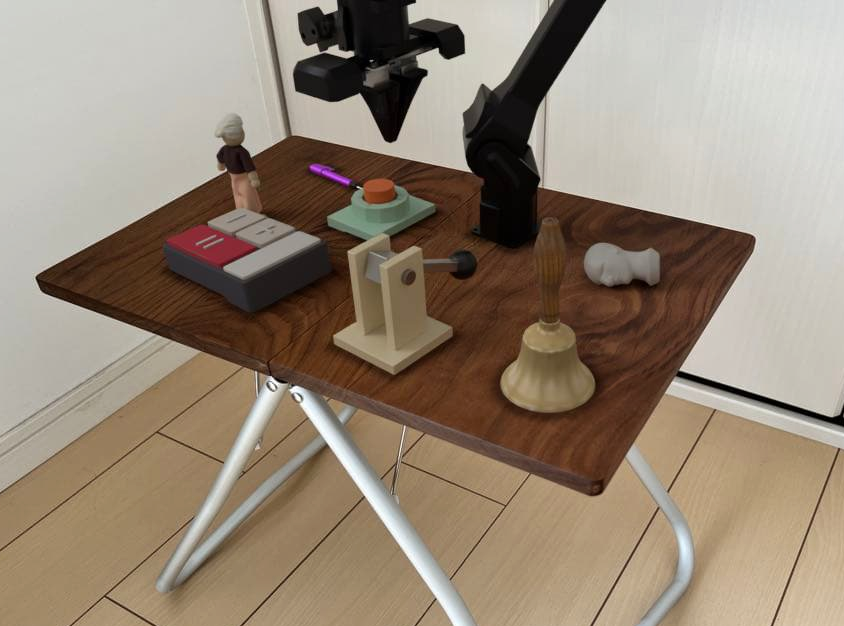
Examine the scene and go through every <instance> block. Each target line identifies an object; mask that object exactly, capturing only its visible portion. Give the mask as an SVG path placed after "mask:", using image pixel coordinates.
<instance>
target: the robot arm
mask: <svg viewBox="0 0 844 626" xmlns="http://www.w3.org/2000/svg"><path fill="white" fill-rule="evenodd" d="M606 2H607V0H553V1H552V3H551V4H550V6H549V8H548V9H547V11H546V13H545V14H544V16H543V17H542V19H541V21H540V23H538V25H537V27H536V28H535V31H534V33H533V34H532V36H531V38H529V40H528V42H527V43H526V45H525V47H524V48H523V51H522V52H521V54H520V55H519V57H518V59H516V62H515V64H514V66H512V69H511V70H510V72H509V74H508V75H507V76H506V78H505V79H504V80H503V81H502V82H500V83H499V84H498V85H497V86H495V87H494V88H493V89H490V88H489V87H488V86H487V85H486V84H485V83H481V84H480V85H479V88H478V90H477V92H476V95H475V97H474V100H473V101H472V104H471V105H470V106H469V107H468V108H467V109H465V110H464V111H463V112H462V120H463V121H462V122H463V126H462V132H461V133H462V143H463V150H464V157H465V161H466V165H467V167H468V169H469V170H470V172H471V173H472V174H474V175H475V176H476V177H478V178H480V179H482V180H483V183H482V184H481V185H480V188H479V189H480V201H479V204H478V205H479V207H478V208H479V224H477V225H476V226H474V227H472V228H471V229H470V234H471V235H473V236H475V237H478V238H480V239H484V240H486V241H489V242H492V243H494V244H497V245H500V246H502V247H506V248H508V249H511V250H516V249H518V248H520V247H521V246H523V245H525V244H526V243H528V242H529V241H531V240H533V239H534V238H537V236H538V234H539V231H540V228H541V224H542V221H539V220H538V196H539V195H538V192H539V191H538V190H539V189H538V188H539V186H540V183H541V176H540V172H539V169H538V165H537V161H536V158H535V155H534V151H533V148H532V146H531V145H530V144H529V143H528V142H529V140H530V137H531V134H532V131H533V130H532V129H533V127H534V124H535V121H536V117H537V113H538V110H539V107H540V106H541V104H542V102H543V100H544V99H545V97H546V96H547V95H548V93H549V92H550V90H551V88H552V86H554V84H555V82H556V81H557V79H558V77H559V75H560V74H561V72H562V71H563V70H564V68H565V66H566V65H567V63H568V61H569V60H570V59H571V57H572V56H573V53H574V52H575V51H576V49H577V47H578V46H579V44H580V43H581V41H582V40H583V38H584V36H585V35H586V33H587V32H588V30H589V29H590V27H591V25H592V24H593V22H594V21H595V19H596V17H597V16H598V14H599V13H600V11H601V10H602V8H603V7H604V5H605V3H606ZM416 3H417V0H336V7H337V10H335V11H332V12H329V13H324V12H323V10H322V9H321V8H320V6H313V7H311V8H307V9H304V10H301V11H299V12H297V24H298V25H297V26H298V32H299V36H300V38H301V41H302V43H303V45H305V47H310V46H312V45H316V47H317V48H318V52H319V53H318V54H315V55H312V56H310V57H307V58H303V59H301V60H297V62H296V64H295V66H294V67H293V69H292V78H293V85H294V91H295V92H296V93H298V94H303V95H304V96H309V97H312V98H314V99H318V100H322V101H324V102H327V103H339V102H341V101H345V100H347V99H350V98H352V97H354V96H355V97H356V96H357V95H359V94H360V96H361V98H362V99H363V100H364V102H365V104H366V106H367V107H368V109H369V111H370V115H372V118H373V120H374V122H375V125H376V126H377V128H378V131H379V132H380V134H381V137H382V139H383V140H384V142H386V143H389V144H392V143H395V142H397V140H398V139H399V137H400V136H399V135H400V132H401V130H402V128H403V126H404V122H405V120H406V117H407V115H408V112H409V110H410V107H411V105H412V103H413V100H414V98H415V96H416V94H417V92H418V89H419V88H420V86H421V84H422V81H423V79H424V78H426V77H428V75H429V70H428V69H427V68H422V67H419V60H417V57H418V56H420V55H422V54H425V53H428V52H431V51H434V50H436V49H438V54H439V55H440V56H441V57H442V58H443V59H444V60H446V61H449V60H452V59H455V58H457V57H460V56H463V55H465V54H466V35H465V33H464V32H463V30H462V29H461V27H460V25H459V24H457V23H452V22H447V21H443V20H438V19H434V18H429V17H426V18H424V19H423V18H422V19H421V20H417V21H414V22H412V23H410V22H409V20H410V19H409V8H408V7H409V6H410V5H411V6H412V5H414V4H416ZM335 46H337V47H338V51H341V52H345V53H348V52H353V55H352V56H349V57H343V56H339V55H336V54H332V53H329V52H326V51H328V50H329V49H330V48H331V47H332V48H333V47H335Z"/></svg>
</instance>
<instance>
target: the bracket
mask: <svg viewBox="0 0 844 626" xmlns="http://www.w3.org/2000/svg"><path fill="white" fill-rule="evenodd" d="M391 246H392V245H391V236H389V235H386V234H384V233H381V234H379V235H377V236H375V237H373V238H372V239H370V240H365V241H364V242H362V243H360V244H358V245H357V246H355V247H353V248H350V249H349V250H347V258H348V266H349V275H350V281H351V290H352V296H353V297H352V298H353V305H354V312H355V320H356V321H355V322H353V323H352V324H350V325H348V326H346V327H345V328H343V329H341V330H339V331H338V332H337V333H335V334H333V335H332V336H333V337H332V338H333V344H334V345H335V346H337V347H339V348H341V349H343V350H345V351H347V352H349V353H350V354H352V355H354V356H356V357H358V358H360V359H362V360H364V361H366V362H368V363H370V364H372V365H374V366H376V367H377V368H379V369H381V370H383V371H386V372H388V373H390V374H391V375H392V376H393V375H394V376H396V375H397V374H399V373H400V372H401V371H404V370H405V369H406V368H407V367H409V366H411V365H412V364H413V363H415V362H417V361H418V360H419V359H421V358H422V357H424V356H425V355H427V354H428V353H429V352H431V351H433V350H434V349H436V348H437V347H439V346H440V345H441V344H443V343H445V342H446V341H447V340H449V339H450V338H452V337H453V336H454V333H453V327H452V326H451V325H449V324H446V323H444V322H442V321H439V320H437V319H435V318H433V317H431V316H429V315H428V314H427V298H426V287H425V284H426V283H425V273H424V270H423V260H424V257H423V248H421V247H419V246H416V245H412V246H410V247H409V248H407V249H405V250H403V251H401V252H400V253H397V254H398V255H396V256H394V257H393V258H391V259H389V260H387V261H386V262H384V263H382V264H380V265H379V266H380V276H381V284H379V283H376V282H374V281H372V280H370V279H367V278H365V273H366V268H367V262H368V257H369V252H370V251H392V248H391Z"/></svg>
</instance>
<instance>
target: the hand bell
mask: <svg viewBox="0 0 844 626" xmlns="http://www.w3.org/2000/svg"><path fill="white" fill-rule="evenodd" d="M541 222H542V224H541V228H540V231H539V234H538V235H537V236H536V240H535V243H534V247H533V267H534V268H533V269H534V275H535V278H536V282H537V284H538V288H539V296H540V297H539V312H538V316H539V321H538V322H535V323H533V324H531V325H529V326H528V327H527V328H526V329H525V330H524V332H523V334H522V339H521V346H520V347H521V348H520V350H519V353H518V357H517V359H516V360H514V361H513V362H511V364H509V365H508V366H507V367H506V369H505V370H504V371H503V373H502V375H501V378H500V390H501V391H502V394H503V395H504V396H505V398H507V399H508V401H510V402H511V403H513V404H514V405H516V406H518V407H519V408H522V409H525V410H528V411H532V412H537V413H544V414H545V413H549V414H553V413H562V412H563V413H564V412H567V411H571V410H573V409H577V408H578V407H581V406H582V405H584V404H586V402H588V401H589V400H590V399H591V398H592V396H593V395H594V393H595V390H596V381H595V378H594V375H593V373H592V372H591V370H590V369H589V367H587V365H586V364H584V363H583V362H582V361H581V360H580V358H579V354H578V348H577V347H578V346H577V338H576V334H575V331H574V330H573V329H572V328H571V327H570V326H568V324H565V323H563V322H561V314H560V289H561V285H562V283H563V280H564V276H565V274H566V273H565V272H566V269H567V268H566V267H567V245H566V242H565V238H564V235H563V232H562V229H561V226H560V221H559V219H558V218H556V217H554V216H549V217H548V216H547V217H545V218H543V219H542V220H541Z"/></svg>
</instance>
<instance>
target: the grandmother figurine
mask: <svg viewBox="0 0 844 626" xmlns="http://www.w3.org/2000/svg"><path fill="white" fill-rule="evenodd" d="M243 125H244V122H243V120H242V117H241V116H240V115H238V114H236V113H234V112H232V113H228V114H225V115H223V116H222V117H221V118H220V119H219V120H218V122H217V124H216V126H215V130H214V133H213V135H214V137H215V138H217V139H220V138H221V140H222V141H223V142H224V143H225V144H224V145H223V146H221V147H220V149H219V150H218V152H217V153H216V156H215V157H216V160H217V161H216V162H217V164H216V168H217V170H218V171H220V172H224V171H225V170H226V171H227V172H228V174H229V175H230V179H231V188H232V194H233V199H234V202H235V208H236V209H238V208H244V209H247V210H250V211H252V212H255V213H258V214H260V215H263V216H265V218H266V219H268V218H269V216H268V215H266V214H265V213H261V212H262V211H263V206H262V202H261V200H260V196H259V193H258V190H257V189H258V188H260V187H261V181H260V180H259V175H258V173H257V168H256V166H255V163H254V161H253V159H252V156H251V153H250V151H249V150H248V149H247V148H246V147H244V146H243V145H242V144H243V143H244V142H245V138H246V133H245V130H244V128H243V127H244V126H243ZM236 209H235V210H236Z"/></svg>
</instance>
